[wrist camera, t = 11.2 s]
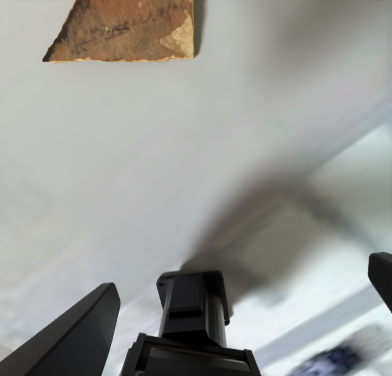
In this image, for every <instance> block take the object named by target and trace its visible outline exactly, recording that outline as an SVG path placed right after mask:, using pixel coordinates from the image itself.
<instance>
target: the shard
mask: <svg viewBox="0 0 392 376" xmlns="http://www.w3.org/2000/svg"><path fill="white" fill-rule="evenodd" d="M193 32H194V2H193V0H75V2H74V5H73V6H72V8H71V10H70V11H69V14H68V16H67V18H66V20H65V22H64V24H63V26H62V29H61V31H60V33H59V35H58V37H57V38H56V39H55V41H54V42H53V44H52V45H51V46H50V47H49V48H48V51H47V53H46V55H45V56H44V58H43V59H42V61H43V62H50V63H63V62H77V61H88V60H99V61H104V62H133V63H134V62H166V61H169V60H171V59H193V58H194V37H193Z"/></svg>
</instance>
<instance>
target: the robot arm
mask: <svg viewBox="0 0 392 376" xmlns="http://www.w3.org/2000/svg"><path fill="white" fill-rule="evenodd" d="M216 276H219V277H216ZM368 277H369V280H370V282H371V283H372V285H373V286H374V288H375V289H376V291H377V292H378V294H379V295H380V296H381V298H382V299H383V301H384V302H385V304H386V305H387V307H388V308H389V310H390V311H391V313H392V254H389V253H386V252H378V253H372V254H370V256H369V265H368ZM160 282H162V283H163V284H161V283H160ZM156 285H157V289H158V293H159V296H160V300H161V304H162V308H163V315H162V320H161V325H160V329H159V334H158V337H155V336H149V335H146V334H145V333H139V335H138V338H137V341H136V342H134V343H133V346H132V348H130V349H128V353H127V356H126V359H125V362H124V365H123V368H122V370H121V373H120V375H119V376H261V374H260V371H259V369H258V366H257V364H256V361H255V359H254V356H253V353H252V351H251V350H247V349H244V350H238V349H232V348H227V345H226V334H225V326H227V325H229V323H230V320H229V313H228V307H227V300H226V294H225V288H224V281H223V275H222V273H221V272H220V271H212V272H204V273H195V274H186V275H178V276H169V277H161V278H159V279H158V280H157V283H156ZM119 310H120V298H119V295H118V292H117V289H116V286H115V284H114V283H113V282H110V283H103V284H101V285H100V286H98V287H97V288H96V289H94V290H93V291H92V292H91V293H89V294H88V295H87V296H85V297H84V298H83V299H81V300H80V301H79V302H78V303H76V304H75V305H74V306H72V307H71V308H70V309H68V310H67V311H66V312H65V313H63V314H62V315H61V316H59V317H58V318H57V319H55V320H54V321H53V322H52V323H50V324H49V325H48V326H46V327H45V328H44V329H42V330H41V331H40V332H38V333H37V334H36V335H35V336H33V337H32V338H31V339H29V340H28V341H27V342H25V343H24V344H23V345H22V346H20V347H19V348H18V349H16V350H15V351H14V352H12V353H11V354H10V355H9V356H7V357H6V358H5V359H3V360H2V361H1V362H0V376H101V375H102V372H103V369H104V366H105V363H106V360H107V357H108V354H109V351H110V347H111V343H112V339H113V335H114V331H115V326H116V322H117V318H118V314H119ZM224 320H226V321H224Z"/></svg>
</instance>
